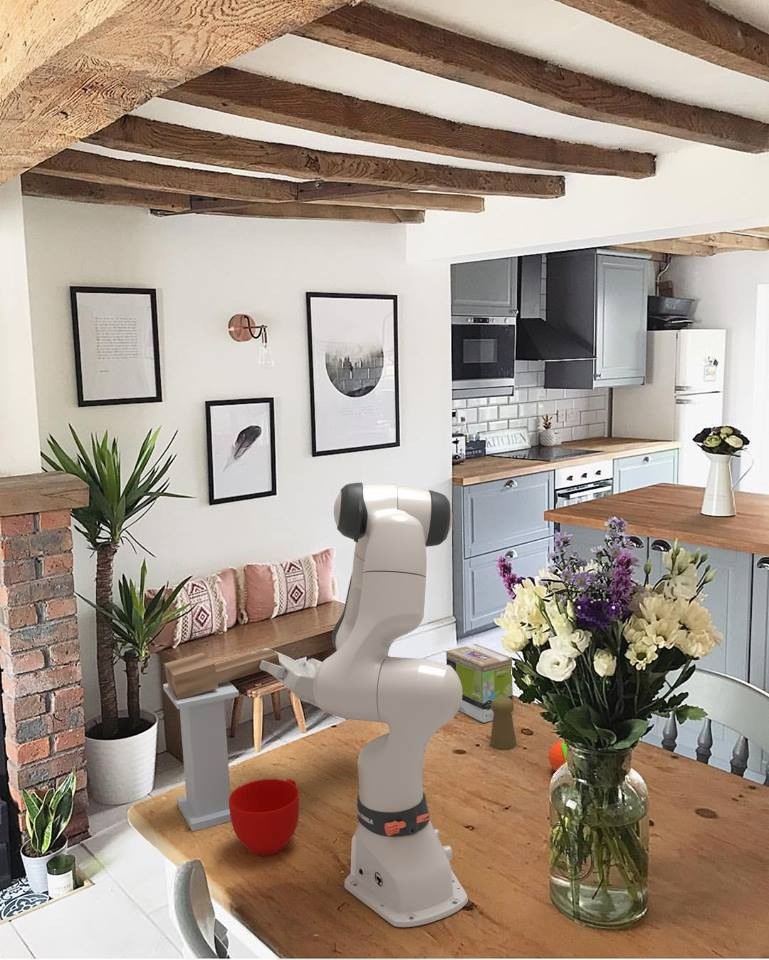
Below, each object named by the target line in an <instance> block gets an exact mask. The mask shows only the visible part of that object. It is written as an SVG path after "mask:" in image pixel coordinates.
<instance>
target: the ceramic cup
mask: <svg viewBox="0 0 769 960" xmlns="http://www.w3.org/2000/svg"><path fill="white" fill-rule="evenodd" d="M230 794H231V795H230V797H229V810H230V816H231V821H230V822H231V825H232V828H233V831H234V834H235V835H236V838H238V841H239V842H240V843H241V844H242V845H243V846H244V847H245V848H246V849H247V850H249V851H250V852H251V853H252V854H254V855H256V856H270V855H271V854H272V855H274V854H275V855H276V854H277V853H279V852H280V850H281V851H282V850H283V849H284V848H285V846H286V845H287V844H288V842H289V841H290V840H291V838H292V837H293V835H294V833H295V831H296V829H297V826H298V822H299V821H298V820H299V816H300V815H299V813H300V812H299V810H300V792H299V788H298V786H297V784H296V781H295V780H294V779H292V778H288V779H285V780H283V779H276V778H268V779H259V780H253V781H250V782H247V783H245V784H242V785H240V786H239V787H237V788H235V789H234V790H233V791H232V792H231V793H230Z"/></svg>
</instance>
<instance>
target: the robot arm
mask: <svg viewBox="0 0 769 960" xmlns="http://www.w3.org/2000/svg"><path fill="white" fill-rule="evenodd" d="M452 511H453V510H452V508H451V502H450V500H449V498H448V497H447V496H446V495H445V494H443V493H441V492H437V491H435V490H431V489H429V490H428V491H427V490H422V489H418V488H414V487H406V486H400V485H397V484H392V483H391V484H390V483H389V484H388V483H363V482H352V483H351V482H350V483H348V484H345V485H344V486H342V488H341V489H340V491H339V494H338V495H337V497H336V499H335V501H334V505H333V517H334V521H335V524H336V530H337V531H338V532H339V533H340V534H341V535H342V536H344V537H345V538H349V539H350V540H353V541H354V543H355V546H354V552H353V561H352V572H351V576H350V579H349V584H348V588H347V589H348V590H347V594H346V598H345V604H344V607H343V611H342V614H341V616H340V617H339V619H338V621H336V624H335V626H334V628H333V630H332V634H331V643H332V646H333V647H334V649H335V652H333V653H332V654H331V655H329V656H328V657H326V658H325V659H324V660H323V661H321V660H318V659H315V658H309V659H308V660H306V661H302V662H300V663H299V662H298V661H296V660H295V659H294V658H292V657H289V656H287V655H285V654H283V653H281V652H278V651H276V650H274V651H275V652H276V653H277V654H278V657H279V663H280V666H279V665H275V664H272V663H270V662H268V661H266V660H263V659H261V660H260V662H259V664H258V667H259V668H260V669H261V670H264V671H263V672H266V673H268V674H270V675H272V676H273V677H274V678H275V679H277V681H279V682H280V683H281V684H282V685H283V686H284V687H285V688H286V689H288V690H289V691H290V692H292V693H294V695H295V697H296V699H298V700H300V701H302V702H305V703H308V704H311V705H313V706H314V707H317V708H319V709H320V710H321V711H322V712H323V713H327V714H329V715H331V716H335V717H339V718H341V719H345V720H351V721H361V722H362V721H363V722H376V723H382V724H387V726H388V732H387V733H385V734H382V735H380V736H378V737H375V738H374V739H372V740H371V741H369V742H368V743H367V744H365V745H364V746H363V747H362V749H360V751H359V752H360V753H359V754H358V759H357V773H358V774H357V777H358V795H357V798H356V813H357V816H356V817H357V821H358V824H357V826H356V829H355V831H354V833H353V835H352V837H351V845H350V846H351V849H350V850H351V851H350V853H351V854H350V873H349V874H348V875H347V877H346V878H345V879H344V882H343V883H344V885H343V886H344V889H345V890H347V891H348V892H349V893H351V894H352V895H353V896H354V897H356V898H357V899H358V900H360V901H361V902H362V903H363V904H365V905H366V906H367V907H369V908H370V909H371V910H372V911H374V912H375V913H376V914H378V915H379V916H380V917H381V918H382V919H384V920H385V921H386V922H388V923H389V924H391V925H392V926H394V927H397V928H410V927H418V926H422V925H426V924H430V923H434V922H436V921H440V920H441V919H444V918H447V917H449V916H451V915H453V914H455V913H457V912H458V911H459V910H461V909H463V907H465V906H466V905H467V903H468V902H469V899H468V894H467V892H466V891H465V888H464V887H463V886H462V884H461V883H460V881H459V879H458V878H457V876H456V874H455V873H454V871H453V869H452V866H451V863H450V861H451V860H452V859H453V857H454V856H453V851H452V848H451V846H450V845H442V842H441V841H440V838H439V837H440V831H439V829H438V828H434V826H433V823H432V822H431V821H430V820H431V817H430V815H431V814H430V811H429V804H428V801H427V798H426V793H425V792H424V788H423V787H424V783H423V782H424V780H423V779H424V777H423V775H424V774H423V773H424V757H425V753H426V750H427V746H428V744H429V742H430V741H431V739H432V738H433V736H434V735H435V734H436V733H437V731H439V730H440V729H441V728H442V727H444V726H445V725H447V724H449V723H450V722H451V721H452V720H453V718H455V716H456V715H457V714H458V712H459V708H460V705H461V701H462V685H461V681H460V679H459V677H458V675H457V673H456V672H455V670H454V669H453V668H452V667H451V666H449V665H447V663H446V664H445V663H443V662H439V661H436V660H431V659H427V658H416V657H415V658H413V657H401V656H400V657H398V656H390V655H389V651H390V648H391V646H392V644H393V643H394V641H395V640H397V639H400V638H402V637H403V636H405V635H408V634H410V633H412V632H413V631H415V630H416V629H417V628H418V627H419V626H420V625H421V623H422V622H423V619H424V617H425V604H426V603H425V602H426V601H425V600H426V587H427V586H426V585H427V565H428V564H427V547H435V546H439V545H441V544H442V543H443V542H445V540H447V538H448V535H449V534H450V531H451V529H452V525H453V512H452ZM269 649H270V648H269V647H268V648H267V647H264V648H263V650H262V651H265V650H269ZM255 653H257V652H255V651H253V652H251V653H250V655H251V654H255Z"/></svg>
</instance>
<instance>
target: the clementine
mask: <svg viewBox="0 0 769 960" xmlns="http://www.w3.org/2000/svg"><path fill="white" fill-rule="evenodd" d="M563 741H564V740H559V741H557V742H556V743H554V744H553V746H552V747H550V750H549V752H548V760H549V764H550V766H551V768H552V769H553V770H554V771H555V772H556V770H557V769H558V768H559V767H560V766H561V765H562V764H564V763H565V762H566V760H567V747H566V744H565V743H564V742H563Z"/></svg>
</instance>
